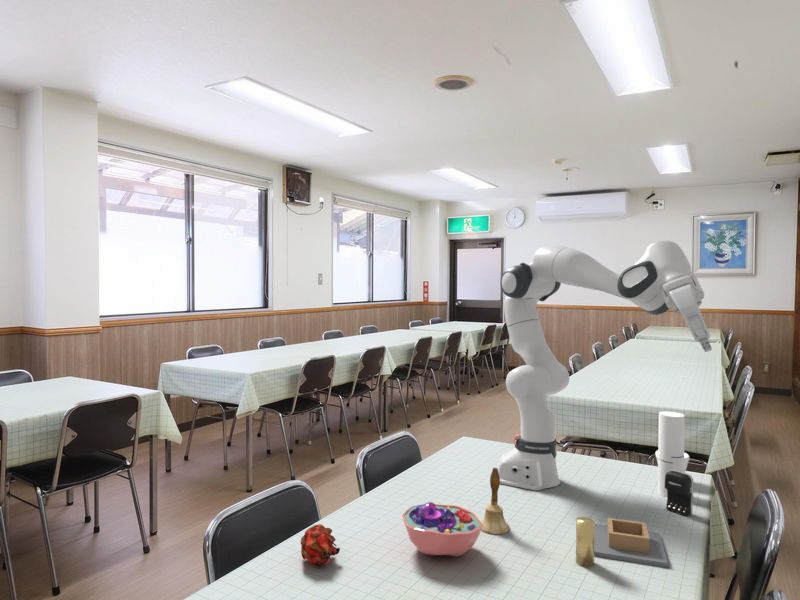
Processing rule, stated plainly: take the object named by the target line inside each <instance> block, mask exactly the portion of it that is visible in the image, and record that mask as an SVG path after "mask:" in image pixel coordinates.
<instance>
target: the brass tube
mask: <svg viewBox="0 0 800 600" xmlns="http://www.w3.org/2000/svg"><path fill="white" fill-rule="evenodd" d="M594 524H595V520H594V519H593V518H591V517H588V516H577V517H576V519H575V525H576V526H575V529H576V531H575V563H576V564H577V565H579V566H581V567H584V568H591V567H593V566H594V565H595V556H594Z"/></svg>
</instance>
